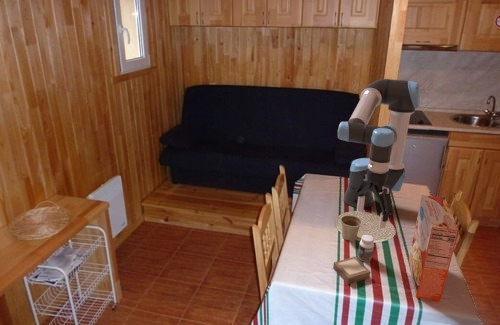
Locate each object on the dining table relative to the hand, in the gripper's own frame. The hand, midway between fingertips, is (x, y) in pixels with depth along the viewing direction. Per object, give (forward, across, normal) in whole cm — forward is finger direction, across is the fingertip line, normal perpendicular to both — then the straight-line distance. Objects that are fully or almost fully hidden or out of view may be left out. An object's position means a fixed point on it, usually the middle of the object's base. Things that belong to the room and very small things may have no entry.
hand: (370, 218), depth 153 cm
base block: (+19, +6, -11) cm, 23 cm away
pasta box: (+19, +19, +13) cm, 30 cm away
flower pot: (+19, -15, +3) cm, 25 cm away
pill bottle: (+19, 0, 0) cm, 19 cm away
